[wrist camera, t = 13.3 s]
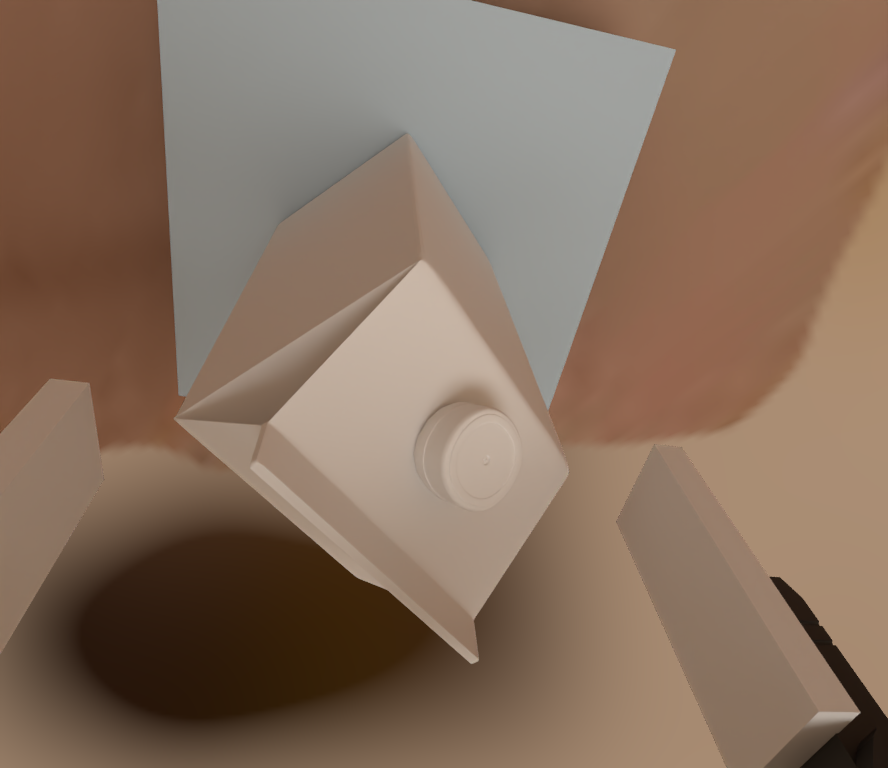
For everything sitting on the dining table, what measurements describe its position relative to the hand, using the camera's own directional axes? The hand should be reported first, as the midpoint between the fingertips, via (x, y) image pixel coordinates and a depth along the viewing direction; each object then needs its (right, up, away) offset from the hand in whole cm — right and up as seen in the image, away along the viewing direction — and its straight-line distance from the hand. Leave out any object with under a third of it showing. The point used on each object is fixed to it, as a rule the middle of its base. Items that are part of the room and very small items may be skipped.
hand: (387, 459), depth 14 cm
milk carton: (-1, +9, +13) cm, 16 cm away
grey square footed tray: (-1, +12, +19) cm, 23 cm away
